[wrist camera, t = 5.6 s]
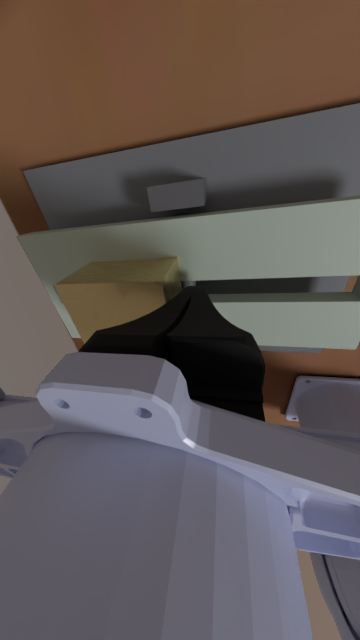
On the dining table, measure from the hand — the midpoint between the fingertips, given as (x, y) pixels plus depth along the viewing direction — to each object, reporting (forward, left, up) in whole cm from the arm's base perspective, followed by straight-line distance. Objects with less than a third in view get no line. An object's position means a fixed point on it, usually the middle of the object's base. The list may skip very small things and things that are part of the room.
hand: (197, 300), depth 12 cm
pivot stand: (+1, 0, -5) cm, 5 cm away
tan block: (+4, 0, -1) cm, 4 cm away
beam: (+1, 0, -3) cm, 4 cm away
